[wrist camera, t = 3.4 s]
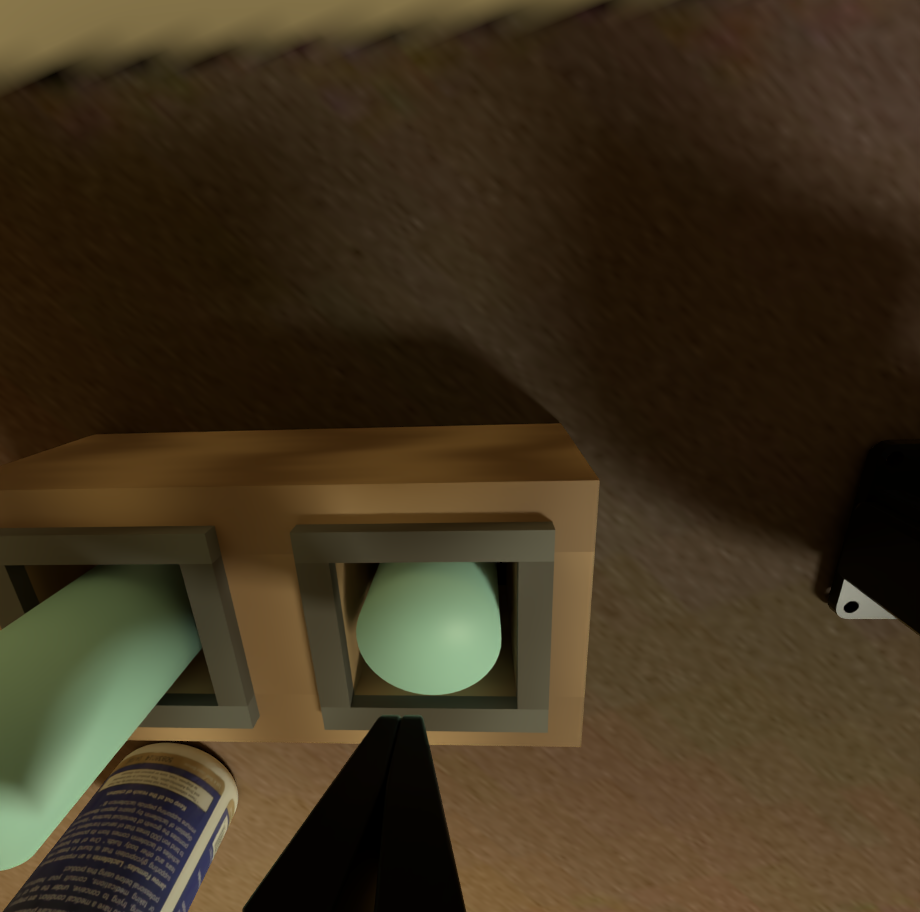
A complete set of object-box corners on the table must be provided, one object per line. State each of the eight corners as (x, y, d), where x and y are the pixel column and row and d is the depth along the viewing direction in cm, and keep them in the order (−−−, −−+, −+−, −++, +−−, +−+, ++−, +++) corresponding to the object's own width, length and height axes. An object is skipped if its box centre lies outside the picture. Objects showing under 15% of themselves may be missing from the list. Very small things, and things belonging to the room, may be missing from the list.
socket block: (560, 423, 14) (604, 487, 9) (553, 624, 17) (584, 761, 12) (95, 434, 15) (-98, 498, 10) (154, 624, 18) (23, 751, 13)
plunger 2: (494, 488, 15) (500, 575, 10) (495, 578, 16) (501, 695, 11) (390, 489, 15) (348, 576, 10) (398, 578, 17) (363, 694, 12)
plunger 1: (198, 551, 12) (-3, 726, 7) (226, 658, 13) (70, 874, 8) (70, 552, 12) (-214, 723, 7) (108, 658, 13) (-113, 869, 8)
